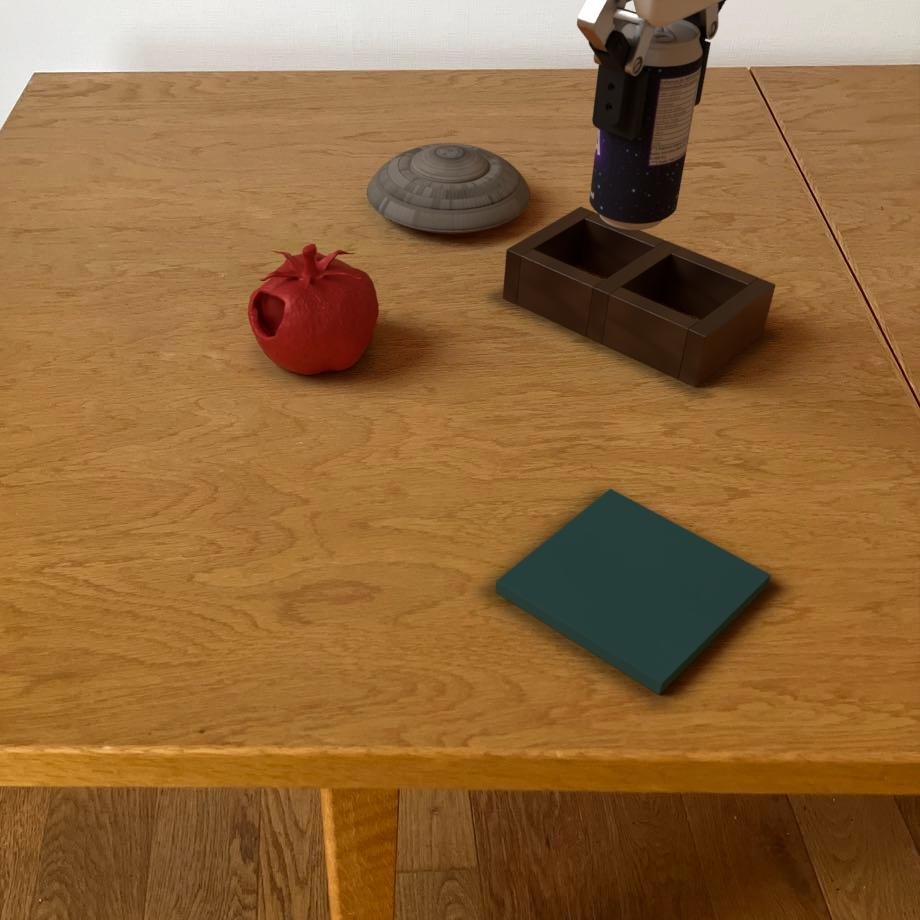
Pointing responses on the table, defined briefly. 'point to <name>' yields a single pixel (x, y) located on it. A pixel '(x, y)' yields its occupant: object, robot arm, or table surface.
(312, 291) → the pomegranate
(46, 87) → the table surface
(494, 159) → the flying saucer
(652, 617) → the mat
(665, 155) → the beverage can
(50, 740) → the table surface
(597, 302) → the box
